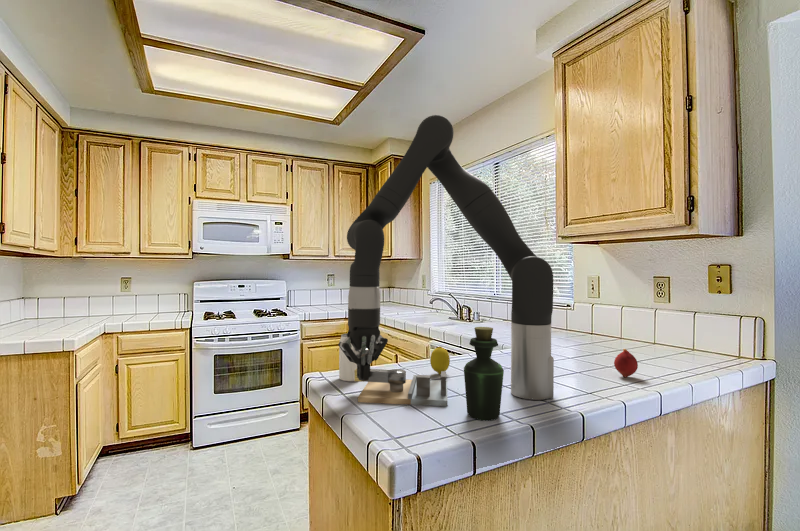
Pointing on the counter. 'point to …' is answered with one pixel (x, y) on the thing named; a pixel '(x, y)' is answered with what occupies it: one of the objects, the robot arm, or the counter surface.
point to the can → (346, 365)
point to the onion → (626, 363)
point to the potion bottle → (483, 378)
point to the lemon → (439, 360)
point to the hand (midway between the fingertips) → (363, 380)
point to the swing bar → (386, 376)
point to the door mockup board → (407, 392)
